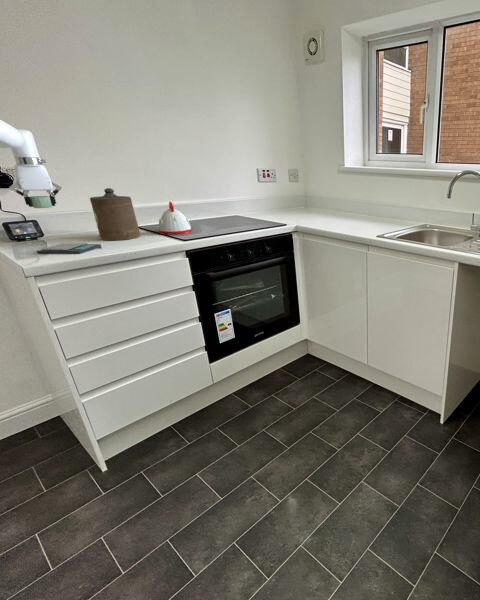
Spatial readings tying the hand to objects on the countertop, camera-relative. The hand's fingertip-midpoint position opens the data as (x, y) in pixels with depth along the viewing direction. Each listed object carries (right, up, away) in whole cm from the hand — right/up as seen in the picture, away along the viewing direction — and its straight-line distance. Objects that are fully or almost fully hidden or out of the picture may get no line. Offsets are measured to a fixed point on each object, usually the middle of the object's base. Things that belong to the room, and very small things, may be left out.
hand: (42, 205), depth 152 cm
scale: (+29, -23, -17) cm, 41 cm away
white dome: (+41, -7, +27) cm, 50 cm away
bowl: (0, -1, 0) cm, 1 cm away
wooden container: (+25, -12, +12) cm, 30 cm away
